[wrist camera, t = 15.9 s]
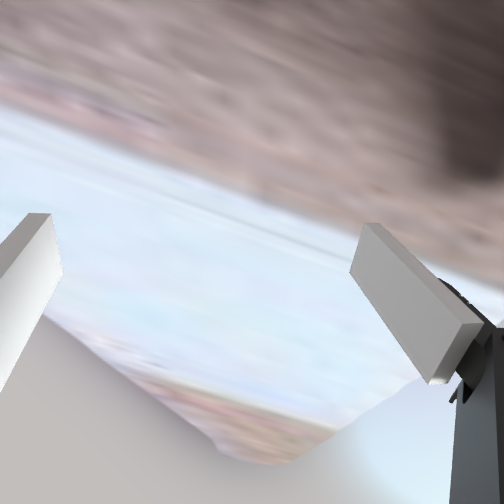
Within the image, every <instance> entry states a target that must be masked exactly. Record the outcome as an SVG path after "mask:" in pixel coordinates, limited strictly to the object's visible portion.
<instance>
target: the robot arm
mask: <svg viewBox="0 0 504 504" xmlns="http://www.w3.org/2000/svg"><path fill="white" fill-rule="evenodd" d="M349 273H350V274H351V276H352V277H353V278H354V280H355V281H356V283H357V284H358V286H359V287H360V288H361V290H362V291H363V293H364V294H365V296H366V297H367V298H368V300H369V301H370V303H371V304H372V306H373V307H374V308H375V310H376V311H377V313H378V314H379V316H380V317H381V319H382V320H383V321H384V323H385V324H386V326H387V327H388V329H389V330H390V331H391V333H392V334H393V336H394V337H395V339H396V340H397V341H398V343H399V344H400V346H401V347H402V349H403V350H404V351H405V353H406V354H407V356H408V357H409V359H410V360H411V361H412V363H413V364H414V366H415V367H416V369H417V370H418V371H419V373H420V374H421V376H422V377H423V379H424V380H425V381H426V383H427V384H428V385H432V384H445V383H448V382H449V380H450V379H451V377H452V375H453V374H454V372H455V371H456V372H457V373H458V374H459V375H460V377H461V378H462V381H461V382H460V384H459V385H458V387H457V389H456V390H455V392H454V393H453V395H452V396H451V398H450V400H449V402H450V403H453V402H454V400H455V399H457V406H456V419H455V433H454V446H453V460H452V473H451V488H450V500H449V504H504V328H496V326H495V325H493V324H492V323H491V322H490V321H489V320H488V319H487V318H486V317H485V316H484V315H483V314H482V313H480V312H479V311H478V310H477V309H476V308H475V307H474V306H473V305H472V304H469V301H468V300H466V299H465V298H464V297H462V296H461V294H460V293H459V292H458V291H457V290H456V289H455V288H454V287H452V286H451V285H450V284H448V283H446V282H445V281H443V280H441V279H440V278H437V277H436V276H435V275H434V274H432V273H431V272H430V271H429V270H428V269H427V268H426V267H425V266H424V265H423V264H422V263H421V262H420V261H419V260H418V259H417V258H416V257H415V256H414V255H413V254H411V253H410V252H409V251H408V250H407V249H406V248H405V247H404V246H403V245H402V244H401V243H400V242H399V241H398V240H397V239H396V238H395V237H394V236H393V235H391V234H390V233H389V232H388V231H387V230H386V229H385V228H384V227H383V226H382V225H381V224H380V223H364V226H363V230H362V233H361V236H360V239H359V243H358V246H357V249H356V252H355V256H354V259H353V262H352V265H351V268H350V272H349ZM62 275H63V268H62V264H61V259H60V254H59V249H58V244H57V239H56V235H55V230H54V225H53V220H52V215H51V214H43V213H29V214H28V215H27V216H26V217H25V218H24V219H23V220H22V221H21V223H20V224H19V225H18V226H17V227H16V228H15V229H14V230H13V231H12V232H11V234H10V235H9V236H8V237H7V238H6V239H5V240H4V241H3V242H2V243H1V245H0V392H1V390H2V388H3V386H4V384H5V382H6V380H7V379H8V377H9V375H10V373H11V371H12V369H13V367H14V365H15V364H16V362H17V360H18V357H19V356H20V354H21V352H22V350H23V348H24V347H25V344H26V343H27V341H28V339H29V337H30V335H31V333H32V331H33V329H34V328H35V326H36V324H37V322H38V320H39V318H40V316H41V314H42V312H43V311H44V309H45V307H46V305H47V303H48V301H49V299H50V297H51V295H52V293H53V292H54V290H55V288H56V286H57V284H58V282H59V280H60V278H61V276H62Z"/></svg>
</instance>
